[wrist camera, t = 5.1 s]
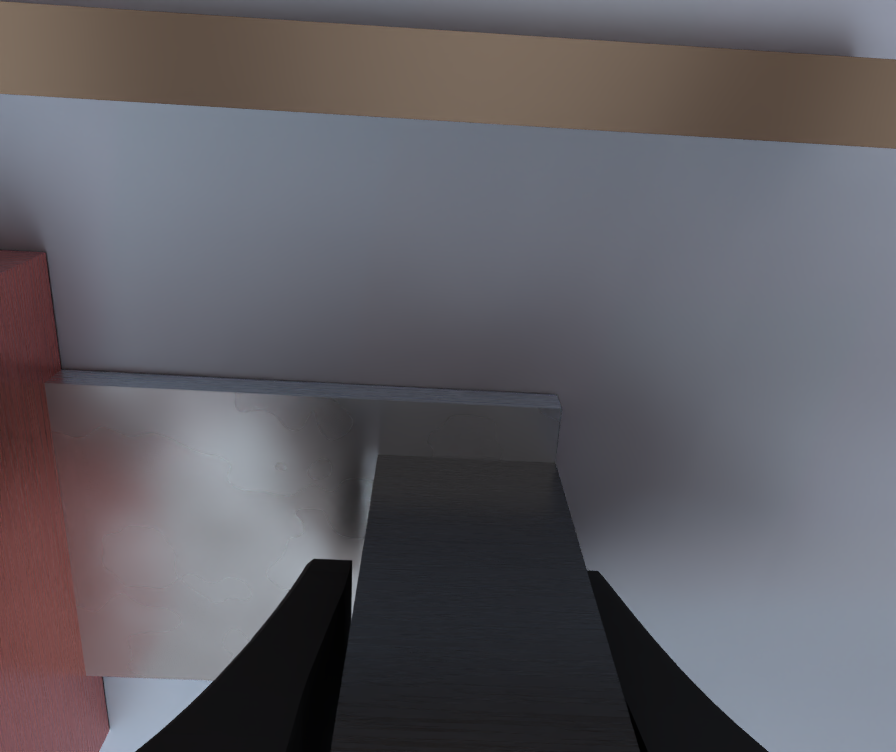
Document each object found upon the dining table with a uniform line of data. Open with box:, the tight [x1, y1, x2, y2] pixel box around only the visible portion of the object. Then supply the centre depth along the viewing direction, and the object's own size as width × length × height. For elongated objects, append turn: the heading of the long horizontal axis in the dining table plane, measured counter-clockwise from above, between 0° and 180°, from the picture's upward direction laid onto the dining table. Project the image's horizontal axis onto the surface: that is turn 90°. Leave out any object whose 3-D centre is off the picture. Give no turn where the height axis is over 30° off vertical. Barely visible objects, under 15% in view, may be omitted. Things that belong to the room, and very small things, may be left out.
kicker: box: [0, 250, 640, 752], centre depth 11 cm, size 10×10×7 cm
